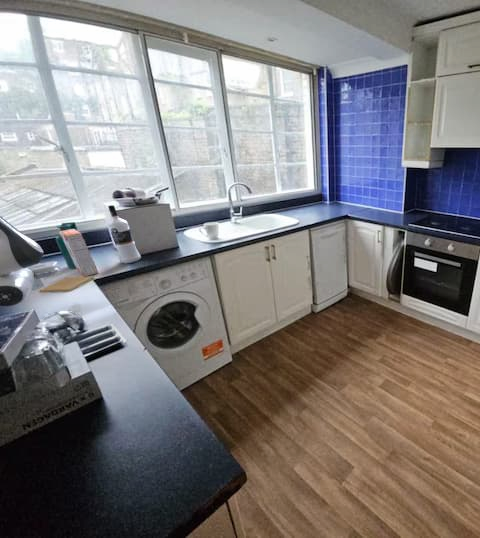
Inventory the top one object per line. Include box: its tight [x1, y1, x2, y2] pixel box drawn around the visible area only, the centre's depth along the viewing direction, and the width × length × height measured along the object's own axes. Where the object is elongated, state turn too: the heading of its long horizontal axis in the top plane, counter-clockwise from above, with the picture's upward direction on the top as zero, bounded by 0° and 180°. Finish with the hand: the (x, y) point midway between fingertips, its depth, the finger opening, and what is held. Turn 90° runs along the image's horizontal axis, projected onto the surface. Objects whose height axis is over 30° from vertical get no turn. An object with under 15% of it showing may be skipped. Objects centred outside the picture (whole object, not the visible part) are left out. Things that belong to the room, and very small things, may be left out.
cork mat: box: [38, 276, 94, 293], centre depth 132 cm, size 13×13×1 cm
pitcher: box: [55, 221, 78, 270], centre depth 151 cm, size 10×8×22 cm
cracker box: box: [58, 229, 99, 277], centre depth 142 cm, size 14×6×21 cm, turn 52°
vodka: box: [107, 204, 142, 264], centre depth 153 cm, size 9×9×30 cm
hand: (23, 268), depth 108 cm, fingers closed on syrup box, 6 cm apart
